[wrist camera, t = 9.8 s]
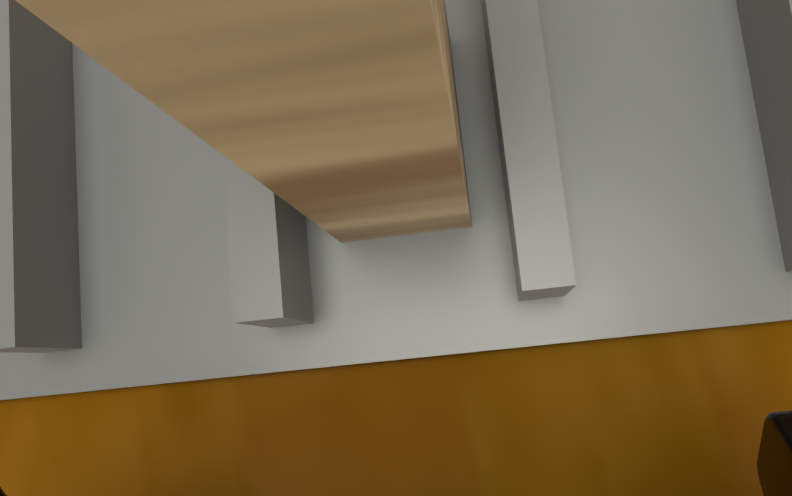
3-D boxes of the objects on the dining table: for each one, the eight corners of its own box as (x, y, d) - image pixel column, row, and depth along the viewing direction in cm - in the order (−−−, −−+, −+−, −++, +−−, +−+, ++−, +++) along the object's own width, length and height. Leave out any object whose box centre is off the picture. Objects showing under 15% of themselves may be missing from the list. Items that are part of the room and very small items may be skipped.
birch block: (472, 227, 17) (394, -188, 4) (341, 242, 17) (-110, -93, 4) (449, 38, 18) (325, -819, 5) (324, 57, 18) (-106, -695, 5)
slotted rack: (936, 305, 16) (1041, 293, 13) (-22, 402, 18) (-125, 411, 15) (844, -123, 17) (919, -224, 14) (-26, 21, 20) (-120, -39, 17)
